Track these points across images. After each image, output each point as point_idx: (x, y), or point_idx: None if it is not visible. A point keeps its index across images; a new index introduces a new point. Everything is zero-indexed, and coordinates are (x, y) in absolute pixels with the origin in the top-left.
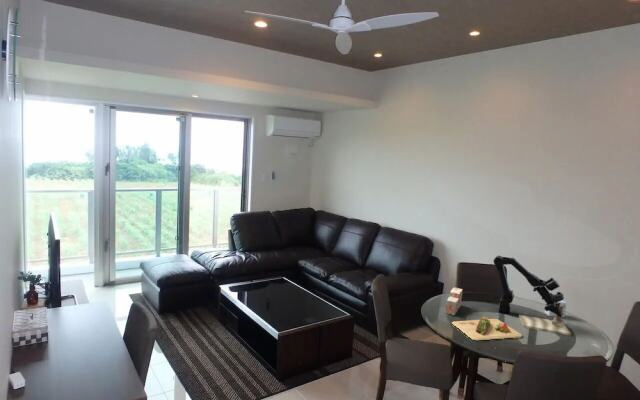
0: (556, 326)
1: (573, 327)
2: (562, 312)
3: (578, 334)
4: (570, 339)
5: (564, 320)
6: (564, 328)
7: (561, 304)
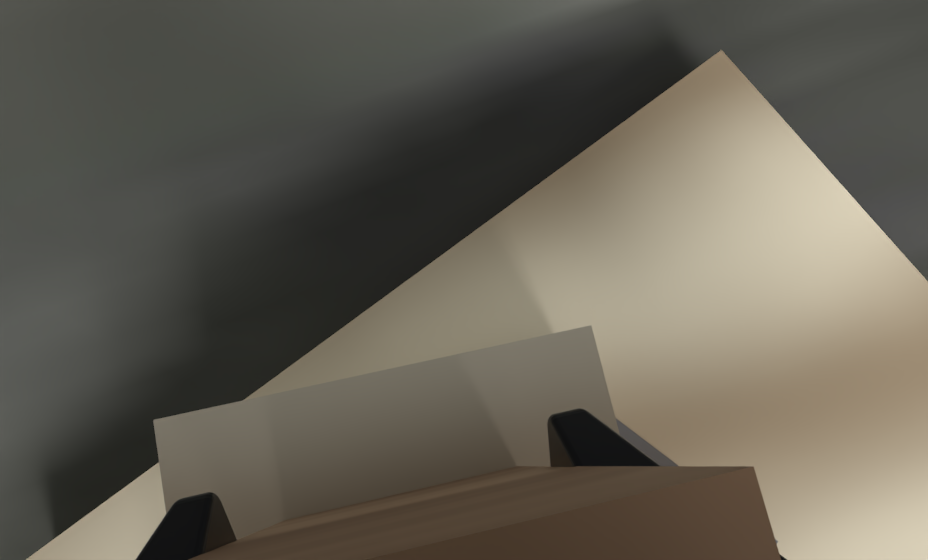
0: None
1: (6, 261)
2: (221, 552)
3: (405, 7)
4: (912, 2)
5: (177, 440)
6: (547, 288)
7: None
